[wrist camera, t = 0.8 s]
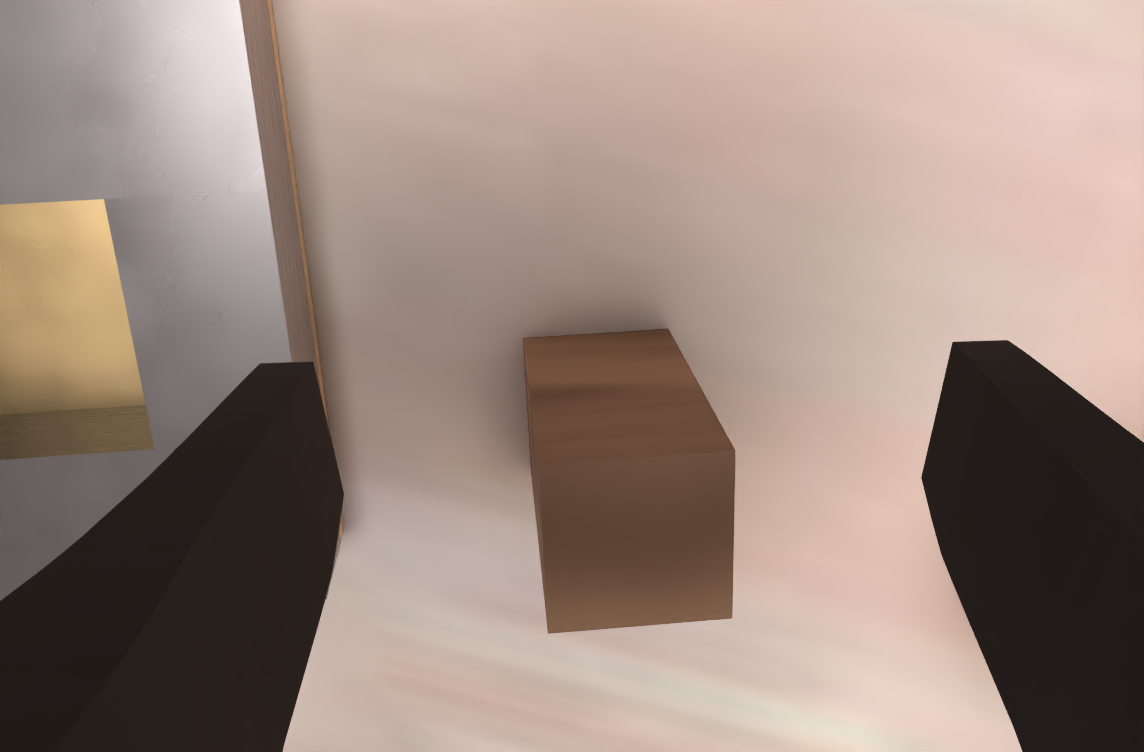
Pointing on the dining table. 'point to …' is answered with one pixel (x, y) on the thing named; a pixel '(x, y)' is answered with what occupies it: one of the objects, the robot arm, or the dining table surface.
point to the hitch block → (134, 247)
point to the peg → (627, 483)
